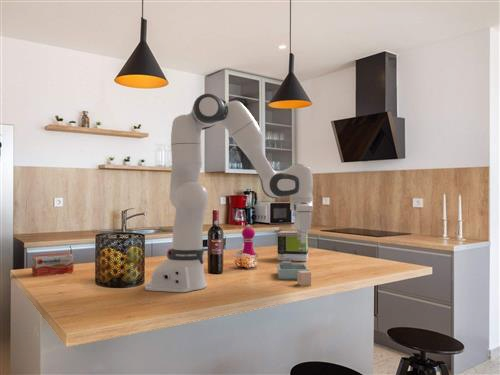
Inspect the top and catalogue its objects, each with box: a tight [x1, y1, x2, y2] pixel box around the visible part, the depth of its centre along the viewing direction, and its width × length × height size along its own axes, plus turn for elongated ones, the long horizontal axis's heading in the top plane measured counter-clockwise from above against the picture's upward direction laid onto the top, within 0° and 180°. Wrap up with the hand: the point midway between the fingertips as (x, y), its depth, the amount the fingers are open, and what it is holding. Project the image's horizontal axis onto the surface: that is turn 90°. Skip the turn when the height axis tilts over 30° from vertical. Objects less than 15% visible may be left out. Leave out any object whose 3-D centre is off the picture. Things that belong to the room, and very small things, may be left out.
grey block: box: [281, 260, 293, 269], centre depth 174 cm, size 4×4×5 cm
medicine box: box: [31, 252, 74, 278], centre depth 176 cm, size 15×8×8 cm, turn 125°
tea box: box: [276, 230, 309, 262], centre depth 214 cm, size 15×10×15 cm
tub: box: [277, 263, 310, 281], centre depth 172 cm, size 12×13×4 cm
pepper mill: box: [241, 224, 256, 255], centre depth 192 cm, size 7×7×20 cm
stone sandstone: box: [296, 270, 312, 287], centre depth 157 cm, size 4×4×5 cm
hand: (301, 241), depth 160 cm, fingers open, 8 cm apart
